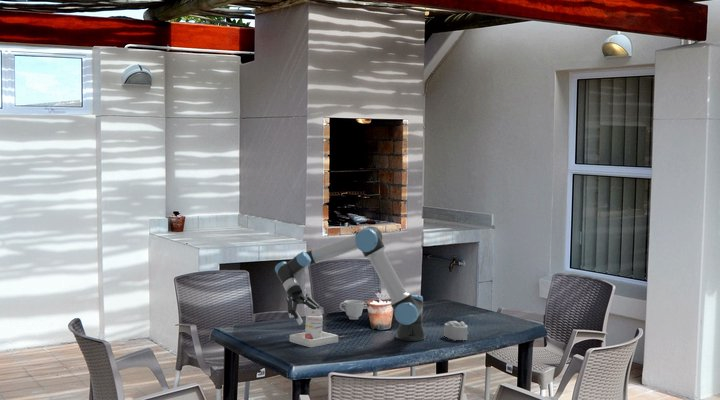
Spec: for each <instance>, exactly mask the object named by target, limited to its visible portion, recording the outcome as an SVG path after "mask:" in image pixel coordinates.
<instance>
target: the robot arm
mask: <svg viewBox="0 0 720 400" xmlns="http://www.w3.org/2000/svg"><path fill="white" fill-rule="evenodd" d="M385 248H386V247H385V244H384V242H383V234H382V232H381V230H380V229H379V228H378V227H375V226H367V227H364V228H361V229H360V230H359V231H357V232H355V234H354V235H352V236H348V237H346V238H343V239H339V240H338V241H334V242H331V243H329V244H326V245H323V246H320V247H317V248H314V249H311V250H308V251H301V252H300V253H297V254H296V256H294V257H293V258H291V260H289V261H281V262H279V263H277V264H276V265H275V267H274V272H275V273H276V276H277V278H278V279H279V281H280V282H281V285H282V286H283V288H284V290H285V292H286V294H287V295H288V296H287V297H286V298H285V299H286V302H287V313H288V314H289V315H290V316H293V318H294V319H295V320H296V322H297V324H298V326H301V325H302V324H303V322H304V321H303V319H302V317H301V316H300V314H299V311H297V307H298V305H301V304H302V305H305V306H307V307H308V308H309V309H316V310H320V308H321V306H320V304H319V303H317V301H315V300H314V299H313V297H311V296H310V294H309V293H305V294H303V290H302V288H301V285H300V284H299V281H298V280H297V279H296V276H295V275H297V274H299V273H300V272H301V271H302V270H303V269H306V268H307V267H310V266H313V265H315V264H318V263H321V262H325V261H328V260H330V259H333V258H337V257H339V256H342V255H345V254H347V253H351V252H353V251H357V250H360V251H361V253H362V255H363V256H364V258H365V259H368V260H369V261H370V263H371V265H372V267H373V269H374V270H375V272H376V274H377V276H378V277H379V279H380V282H381V283H382V285H383V287H384V289H385V291H386V293H387V294H388V296H389V297H390V300H391V301H390V306H391V308H392V309H393V311H394V313H393V314H394V317H395V320H396V321H397V322H398V324H399V325H398V327H397V328H398V329H397V330H396V331H397V332H396V334H395V336H396V337H395V338H396V339H398V340H400V341H406V342H407V341H408V342H409V341H410V342H419V341H423V339H424V340H425V339H426V333H425V331H424V326H423V305H424V304H423V303H424V297H423V296H422V295H418V294H411V293H410V292H407V290H406V289H405V287H404V285H403V283H402V281H401V279H400V278H399V276H398V274H397V272H396V271H395V269H394V267H393V266H392V264H391V262H390V259H389V257H388V256H387V254H386V253H385ZM313 313H317V312H315V311H314V312H313ZM322 320H323V317H322Z"/></svg>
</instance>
